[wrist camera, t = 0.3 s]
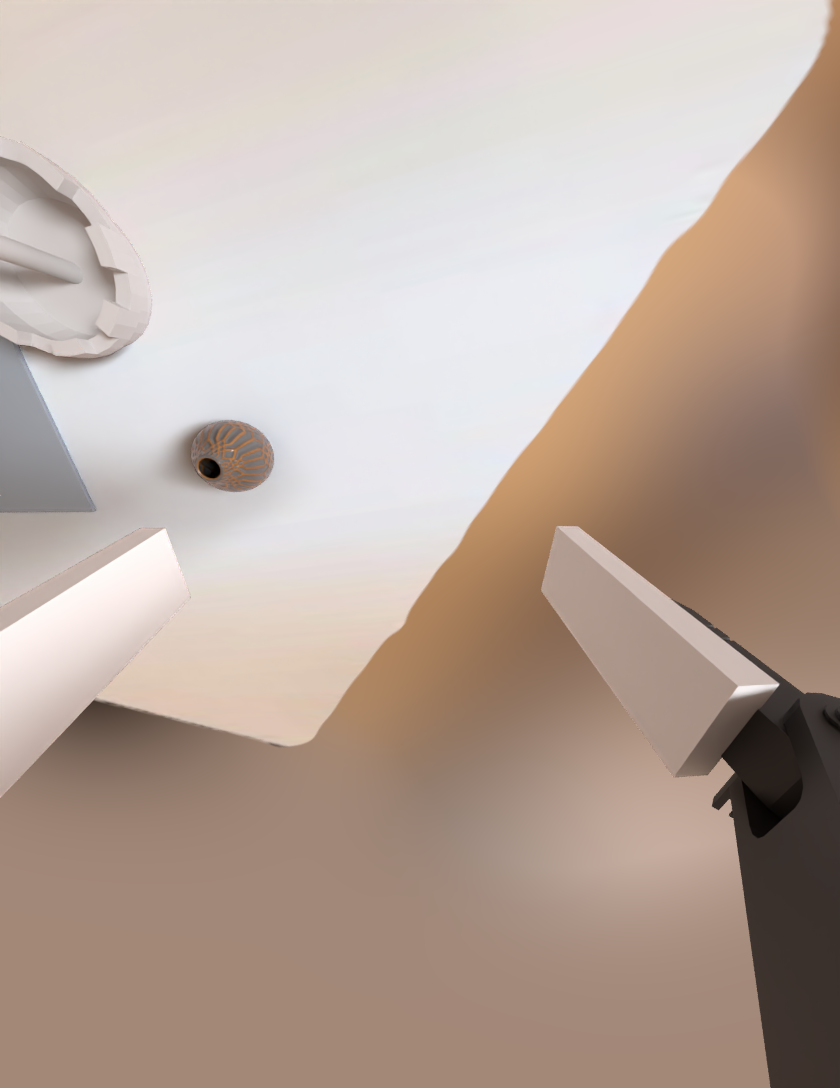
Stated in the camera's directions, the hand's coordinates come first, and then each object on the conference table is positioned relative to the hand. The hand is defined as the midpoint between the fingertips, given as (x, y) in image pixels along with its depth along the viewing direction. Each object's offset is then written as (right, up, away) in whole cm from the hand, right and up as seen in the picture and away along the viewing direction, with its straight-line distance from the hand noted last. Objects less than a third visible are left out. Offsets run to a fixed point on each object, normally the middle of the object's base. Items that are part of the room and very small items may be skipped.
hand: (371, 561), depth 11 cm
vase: (-17, +11, +24) cm, 32 cm away
